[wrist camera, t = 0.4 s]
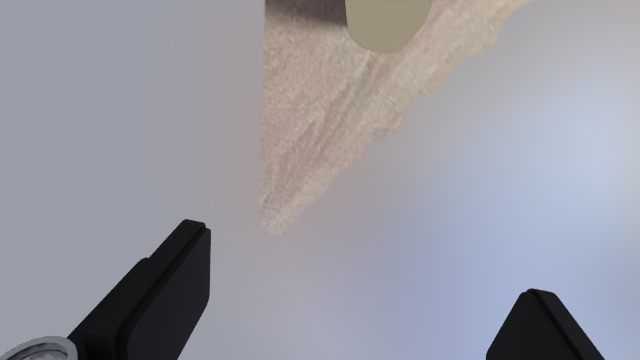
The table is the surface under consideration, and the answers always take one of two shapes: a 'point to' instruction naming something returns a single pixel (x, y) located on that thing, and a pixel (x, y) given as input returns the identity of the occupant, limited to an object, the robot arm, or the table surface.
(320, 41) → the table surface
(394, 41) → the handle
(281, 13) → the table surface
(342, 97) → the table surface
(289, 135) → the table surface
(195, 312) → the robot arm
